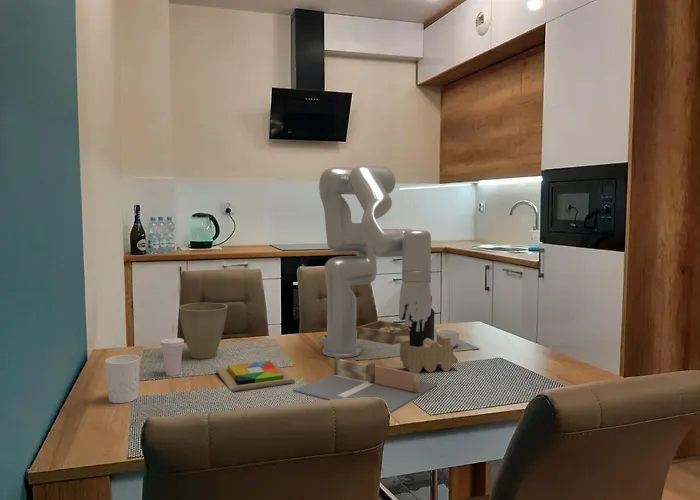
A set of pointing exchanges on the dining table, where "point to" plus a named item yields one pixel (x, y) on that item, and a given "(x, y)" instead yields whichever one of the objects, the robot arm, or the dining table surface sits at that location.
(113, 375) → the white cup
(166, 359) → the smoothie
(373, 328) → the tray
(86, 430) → the dining table surface
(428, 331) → the bottle
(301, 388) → the card
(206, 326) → the plant pot
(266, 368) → the wooden puzzle
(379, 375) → the hinged fence panel
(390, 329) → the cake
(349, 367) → the fixed fence panel
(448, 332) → the teacup
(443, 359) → the toy train
